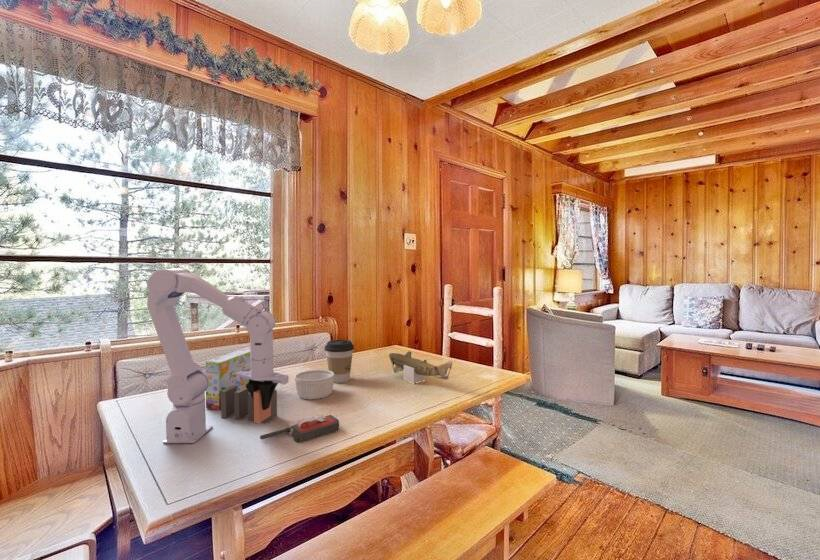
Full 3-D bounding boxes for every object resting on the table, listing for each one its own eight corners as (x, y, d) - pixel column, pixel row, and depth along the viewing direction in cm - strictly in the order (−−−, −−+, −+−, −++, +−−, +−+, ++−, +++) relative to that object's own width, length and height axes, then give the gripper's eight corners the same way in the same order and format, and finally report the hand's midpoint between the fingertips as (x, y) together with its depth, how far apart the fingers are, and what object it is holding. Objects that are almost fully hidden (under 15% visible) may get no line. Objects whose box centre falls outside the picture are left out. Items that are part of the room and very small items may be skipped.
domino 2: (250, 413, 115) (250, 387, 114) (239, 420, 110) (238, 392, 109) (246, 412, 115) (245, 386, 115) (234, 419, 110) (234, 392, 110)
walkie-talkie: (329, 420, 110) (258, 441, 98) (329, 405, 110) (258, 424, 98) (344, 430, 104) (270, 454, 91) (344, 415, 103) (270, 436, 91)
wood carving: (442, 397, 128) (442, 364, 128) (381, 373, 155) (381, 346, 155) (460, 391, 134) (460, 360, 133) (399, 369, 161) (399, 343, 160)
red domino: (270, 415, 104) (270, 386, 103) (259, 423, 99) (258, 392, 98) (265, 414, 104) (265, 386, 104) (253, 422, 99) (253, 392, 99)
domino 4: (277, 416, 112) (276, 389, 112) (266, 423, 108) (266, 395, 107) (272, 415, 113) (271, 389, 112) (261, 422, 108) (261, 395, 108)
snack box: (221, 410, 117) (219, 362, 116) (205, 409, 118) (203, 361, 117) (261, 388, 138) (260, 347, 137) (247, 387, 139) (246, 346, 138)
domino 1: (237, 411, 116) (237, 386, 115) (226, 418, 111) (225, 391, 110) (233, 411, 116) (232, 385, 116) (221, 417, 111) (220, 391, 111)
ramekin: (313, 386, 140) (313, 367, 140) (342, 391, 134) (342, 372, 134) (286, 397, 128) (286, 376, 128) (316, 404, 122) (316, 382, 122)
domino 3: (263, 414, 114) (263, 388, 113) (253, 421, 109) (252, 394, 108) (259, 414, 114) (258, 388, 114) (248, 421, 109) (247, 393, 109)
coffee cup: (349, 386, 140) (349, 345, 139) (319, 384, 142) (319, 344, 141) (358, 376, 151) (358, 339, 150) (330, 375, 153) (330, 338, 152)
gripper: (294, 355, 103) (294, 405, 103) (248, 352, 106) (248, 400, 107) (279, 362, 96) (280, 415, 97) (230, 358, 99) (231, 409, 100)
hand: (262, 408), depth 101 cm, fingers closed on red domino, 1 cm apart
